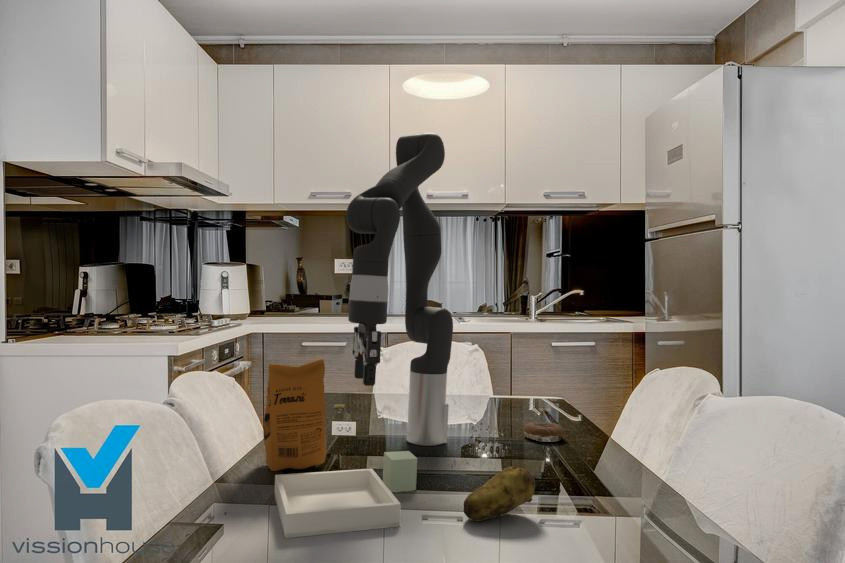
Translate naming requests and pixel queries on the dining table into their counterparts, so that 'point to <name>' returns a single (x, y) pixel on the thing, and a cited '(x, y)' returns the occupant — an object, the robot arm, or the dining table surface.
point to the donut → (543, 430)
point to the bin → (334, 502)
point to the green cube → (400, 471)
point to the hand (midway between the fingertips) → (364, 381)
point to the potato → (500, 494)
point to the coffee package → (295, 416)
